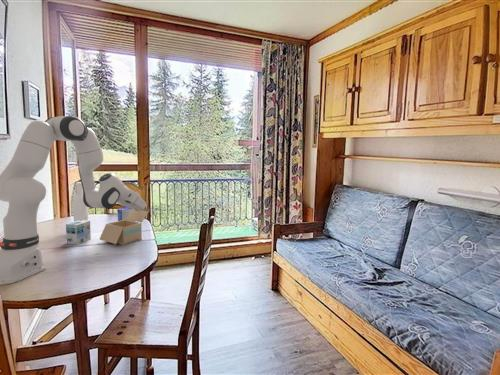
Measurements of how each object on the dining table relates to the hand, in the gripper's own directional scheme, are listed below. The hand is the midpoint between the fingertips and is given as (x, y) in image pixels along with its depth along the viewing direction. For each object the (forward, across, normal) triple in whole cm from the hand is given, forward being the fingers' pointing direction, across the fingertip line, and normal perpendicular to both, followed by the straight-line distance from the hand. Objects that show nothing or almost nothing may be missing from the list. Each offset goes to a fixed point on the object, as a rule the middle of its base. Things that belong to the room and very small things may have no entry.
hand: (138, 210), depth 179 cm
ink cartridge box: (+17, -22, -5) cm, 28 cm away
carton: (+2, 0, -19) cm, 19 cm away
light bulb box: (-7, -17, -29) cm, 35 cm away
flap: (+1, 0, -2) cm, 2 cm away
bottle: (+1, -34, -21) cm, 40 cm away
